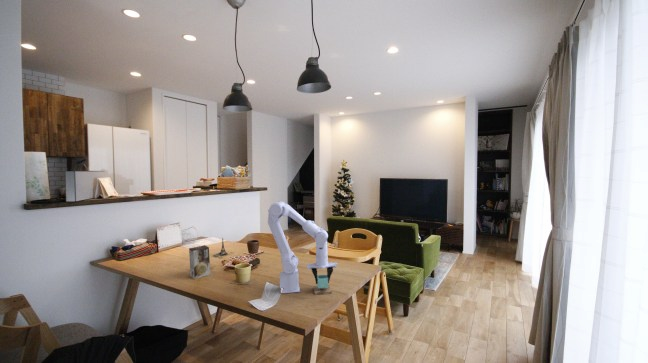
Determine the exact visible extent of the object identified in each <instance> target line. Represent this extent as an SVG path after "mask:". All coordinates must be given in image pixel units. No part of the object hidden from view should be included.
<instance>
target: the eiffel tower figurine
mask: <svg viewBox="0 0 648 363" xmlns="http://www.w3.org/2000/svg"><path fill="white" fill-rule="evenodd" d="M221 239H222V240H221V241H222V243H221V250H220V251H219V252H218V253H216V254H213V255H212V257H213V258H218V259H219V258H220V259H221V257H224V256H228V253H227V251H226V249H225V246H224V238H223V237H222V238H221Z"/></svg>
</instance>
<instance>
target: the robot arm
mask: <svg viewBox="0 0 648 363" xmlns="http://www.w3.org/2000/svg"><path fill="white" fill-rule="evenodd" d="M282 217H289V218H291V219H292V220H293V221H295V222H296V223H298V224H299V225H301V226H302V227H301V228H302V230H303V231H304V232H305V233H307V234H308V235H309V236H310V237H312V238H313V239H314V241H315V263H309V264H306V269H307V271H310V270H311V272H312V275H313V276H314V279H315V284H316V285H317V284H318V281H317V275H318V269H326V275H327V277H328V284H330V280H331V276H332V274H333V272H334V268H335V269H337V268H338V263H337V262H329V261H328V260H329V257H328V254H329V253H328V238H329V234H328V232H327V231H326V230H325V229H323V228H322V227H320V226H318V225H317V224H315V221H314V220H309V219H308V220H306V219H305V218H304V217H303V216H302V215H301V214H299V212H298V211H296V210H295V209H294V208H293V207H292V206H291V205H289V204H288V203H286V202H285V200H279V201H277V202H274V203H272V204H271V205H270V207H269V209H268V216H267V224H268V227H269V229H270V232H271V234H272V236H273V238H274V241H275V244H276V246H277V248H278V251H279V253H280V256H281V258H280V260H281V263H282V264H281V265H282V271H281V272H279V287H280V288H283V291H282V293H281V294H290V293H300V292H301V289H300V281H299V279H300V278H299V269H298V266H299V265H300V260H299V258H298V257H297V256H296V254H295V253H294V252H293V251H292V249H291V247H290V245H289V242H288V240H287V237H286V236H285V233H284V230H283V228H282V225H281V223H280V221H281V218H282ZM280 288H279V289H280Z"/></svg>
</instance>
